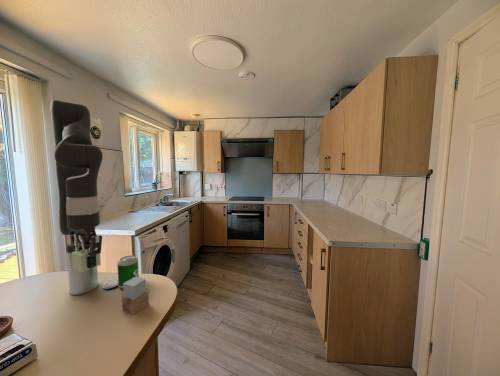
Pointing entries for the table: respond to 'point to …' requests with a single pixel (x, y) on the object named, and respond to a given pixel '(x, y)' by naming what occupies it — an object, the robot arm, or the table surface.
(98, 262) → the sage cube
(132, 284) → the slate cube
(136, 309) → the walnut block
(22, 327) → the table surface
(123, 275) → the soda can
